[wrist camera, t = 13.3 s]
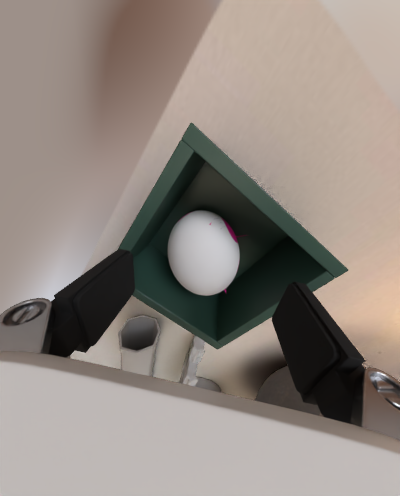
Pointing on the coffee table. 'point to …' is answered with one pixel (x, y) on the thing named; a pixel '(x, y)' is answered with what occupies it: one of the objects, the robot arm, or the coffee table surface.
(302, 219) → the coffee table surface
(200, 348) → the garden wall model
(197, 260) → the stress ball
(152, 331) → the tube
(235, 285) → the bin
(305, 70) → the coffee table surface
